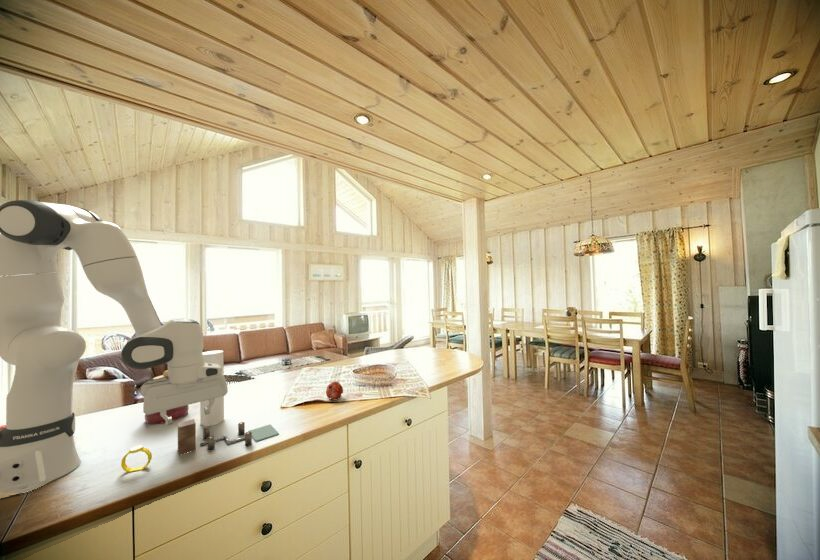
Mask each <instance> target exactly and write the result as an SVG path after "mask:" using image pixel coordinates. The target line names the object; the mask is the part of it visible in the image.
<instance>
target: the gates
mask: <svg viewBox="0 0 820 560" xmlns="http://www.w3.org/2000/svg"><path fill="white" fill-rule="evenodd" d="M202 427H203V428H202V440H205V441H207V444H206V447H207V451H208V450H210V451H212V450H215V448H216V447H215V445H216V444H215V442H216V441H215V439H216V438H215V435H211V431H210V429H211V427H210V426H202ZM245 427H246V426H245V422H244V421H242V422H241V421H240V422H239V423H238V425H237V428H238V430H237V431H238V432H237V433H238V434H237V435H238V436H243V435H244V437H245V439H244V446H246V447H249V446H252V445H253V438H252V432H248V431H247V432H245Z"/></svg>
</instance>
